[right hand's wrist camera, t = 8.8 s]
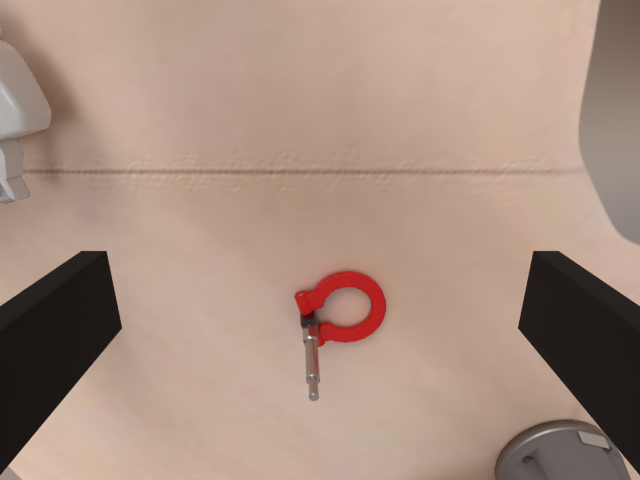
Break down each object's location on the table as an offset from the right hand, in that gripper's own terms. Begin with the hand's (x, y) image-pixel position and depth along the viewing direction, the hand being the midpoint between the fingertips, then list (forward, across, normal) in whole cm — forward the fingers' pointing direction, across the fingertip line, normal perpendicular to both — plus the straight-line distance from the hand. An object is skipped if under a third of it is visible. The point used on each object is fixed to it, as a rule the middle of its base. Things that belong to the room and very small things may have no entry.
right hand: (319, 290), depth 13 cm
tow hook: (+28, -2, +17) cm, 33 cm away
